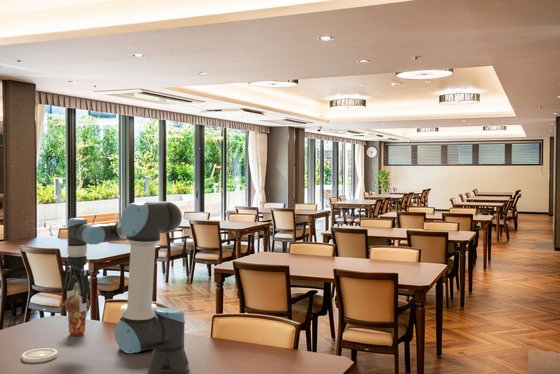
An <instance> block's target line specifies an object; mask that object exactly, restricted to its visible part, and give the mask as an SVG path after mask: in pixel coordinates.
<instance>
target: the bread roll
mask: <svg viewBox="0 0 560 374" xmlns="http://www.w3.org/2000/svg"><path fill="white" fill-rule="evenodd" d="M79 295H80V294H78V295H76V294H74V295H73V296H71V297H69V298H68V299H67V298H66V299H65V300H64V302H63V303H62V307H63V309H64V311H65V312H67V313H68V312H80V296H79ZM90 307H91V302H90V300H89V299H88V297H87V310H89V309H90Z"/></svg>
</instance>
